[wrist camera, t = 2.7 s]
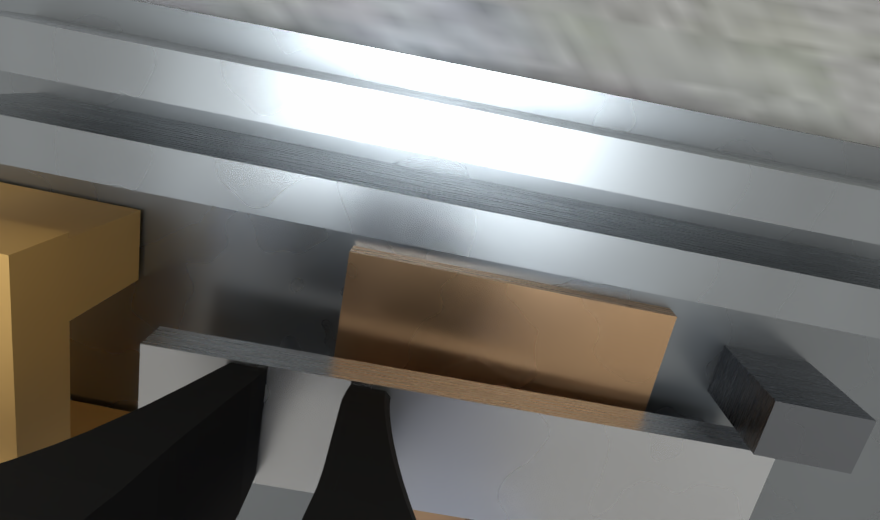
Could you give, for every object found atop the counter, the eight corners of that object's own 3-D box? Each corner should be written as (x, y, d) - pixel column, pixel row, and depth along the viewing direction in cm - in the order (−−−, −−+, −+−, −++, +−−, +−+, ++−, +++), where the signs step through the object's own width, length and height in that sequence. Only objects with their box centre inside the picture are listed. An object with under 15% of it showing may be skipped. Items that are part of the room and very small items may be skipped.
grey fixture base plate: (785, 589, 15) (904, 787, 11) (24, 436, 15) (-148, 575, 11) (987, 169, 12) (1269, 222, 8) (8, -24, 12) (-252, -80, 8)
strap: (714, 534, 12) (730, 562, 11) (155, 439, 11) (136, 464, 10) (756, 431, 11) (776, 455, 10) (159, 326, 10) (139, 343, 10)
